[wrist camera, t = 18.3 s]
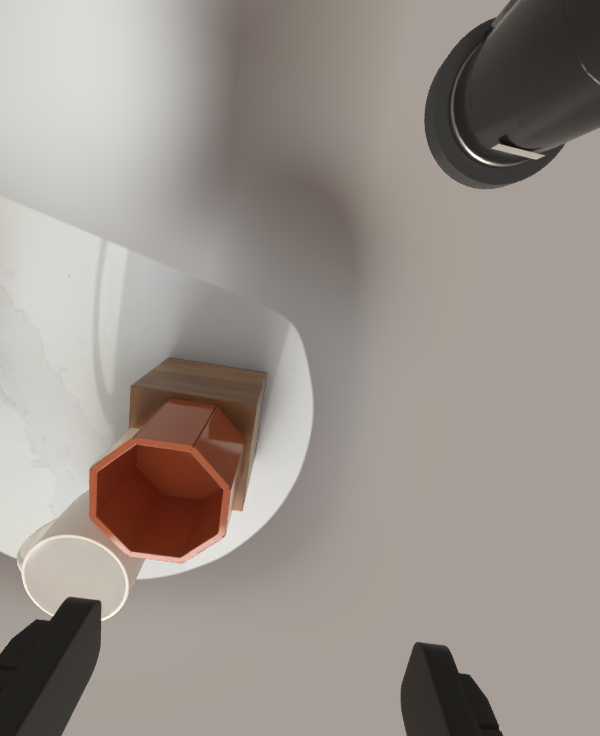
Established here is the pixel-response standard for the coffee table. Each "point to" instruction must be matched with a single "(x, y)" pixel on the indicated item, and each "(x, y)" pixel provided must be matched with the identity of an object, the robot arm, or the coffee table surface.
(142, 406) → the riser
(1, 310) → the coffee table surface
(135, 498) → the terracotta cup
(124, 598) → the mug
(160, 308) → the coffee table surface
